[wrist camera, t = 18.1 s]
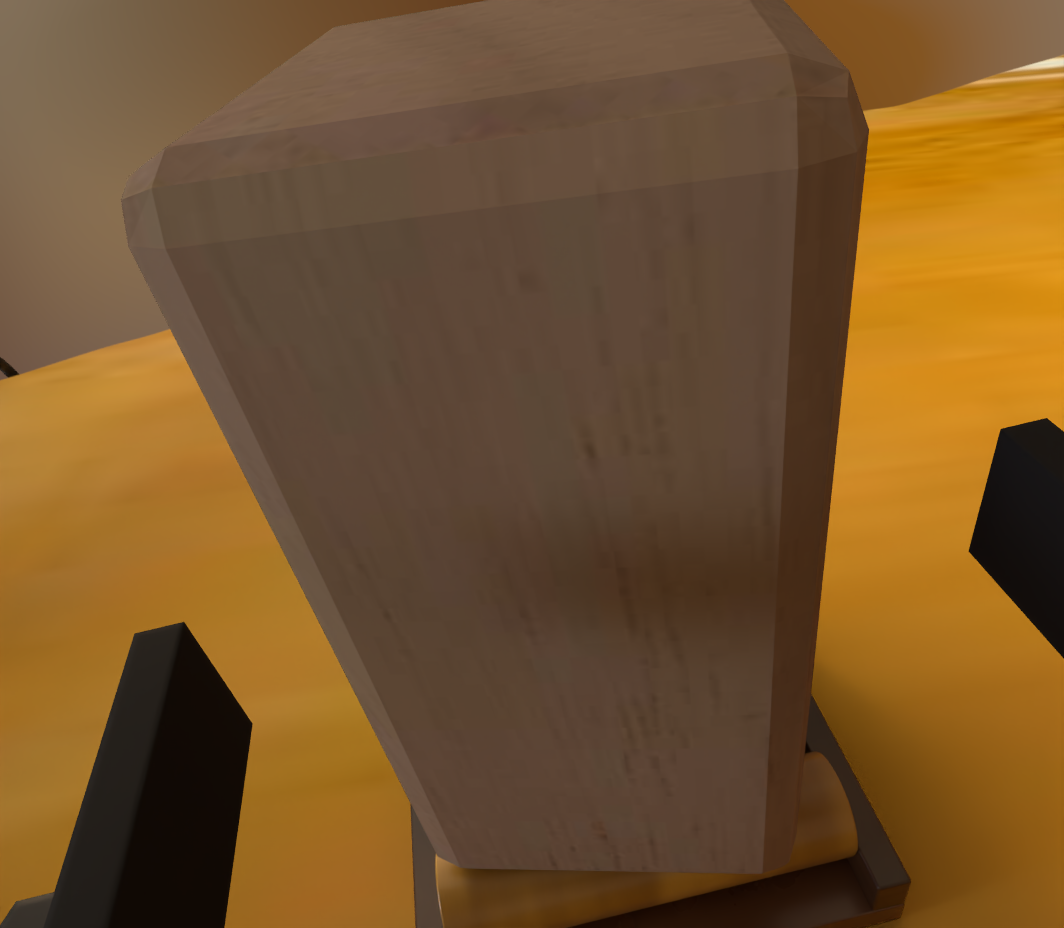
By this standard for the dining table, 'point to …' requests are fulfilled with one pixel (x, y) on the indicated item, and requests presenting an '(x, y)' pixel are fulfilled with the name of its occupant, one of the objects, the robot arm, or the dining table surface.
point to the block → (541, 399)
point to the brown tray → (696, 875)
